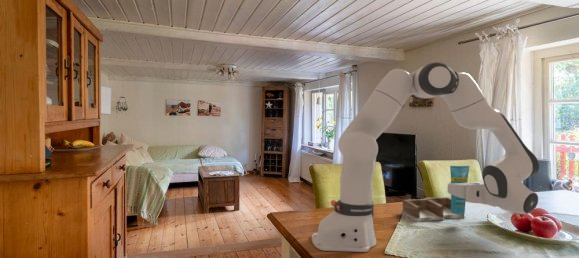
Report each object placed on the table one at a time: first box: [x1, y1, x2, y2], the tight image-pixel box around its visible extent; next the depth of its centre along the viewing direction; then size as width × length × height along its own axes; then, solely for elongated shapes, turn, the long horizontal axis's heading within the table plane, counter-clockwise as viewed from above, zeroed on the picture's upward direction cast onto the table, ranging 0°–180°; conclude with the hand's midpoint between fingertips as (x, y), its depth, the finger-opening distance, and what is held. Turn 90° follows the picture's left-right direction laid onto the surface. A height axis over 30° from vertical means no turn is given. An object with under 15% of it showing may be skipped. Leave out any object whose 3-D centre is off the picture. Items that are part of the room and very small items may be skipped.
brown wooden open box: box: [402, 198, 444, 222], centre depth 140 cm, size 12×12×6 cm
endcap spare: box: [422, 196, 465, 219], centre depth 144 cm, size 12×12×6 cm
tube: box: [449, 165, 470, 215], centre depth 129 cm, size 7×5×19 cm, turn 93°
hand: (457, 184), depth 130 cm, fingers closed on tube, 6 cm apart
